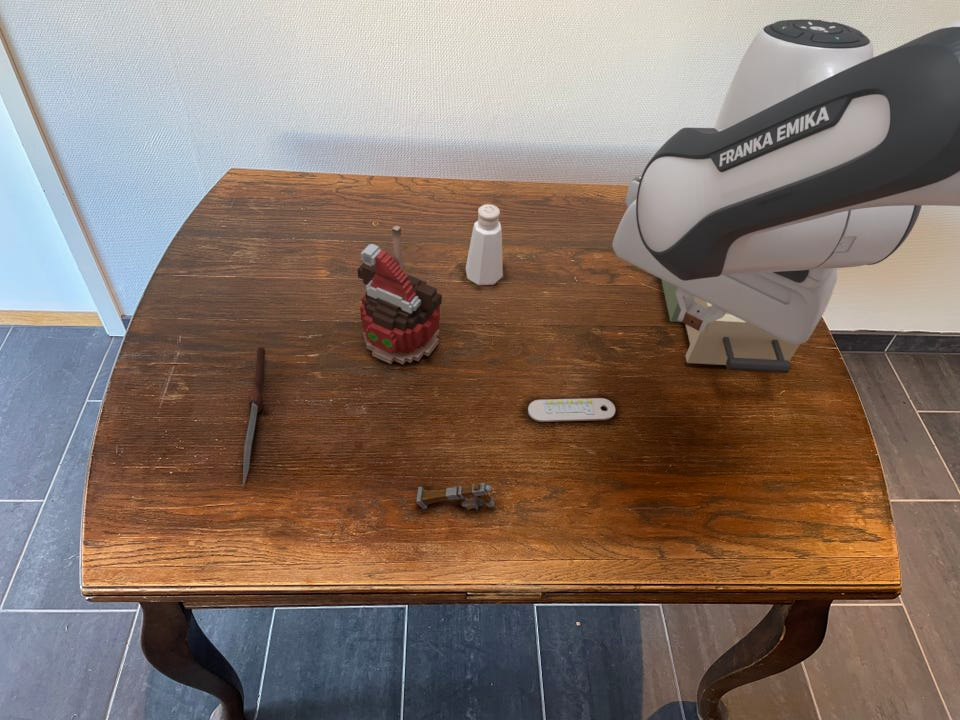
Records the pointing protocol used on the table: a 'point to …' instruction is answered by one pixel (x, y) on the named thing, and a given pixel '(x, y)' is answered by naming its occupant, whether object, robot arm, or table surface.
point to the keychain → (571, 409)
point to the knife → (254, 409)
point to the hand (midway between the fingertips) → (693, 323)
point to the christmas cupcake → (397, 307)
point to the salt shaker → (485, 248)
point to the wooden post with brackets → (458, 496)
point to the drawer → (738, 346)
